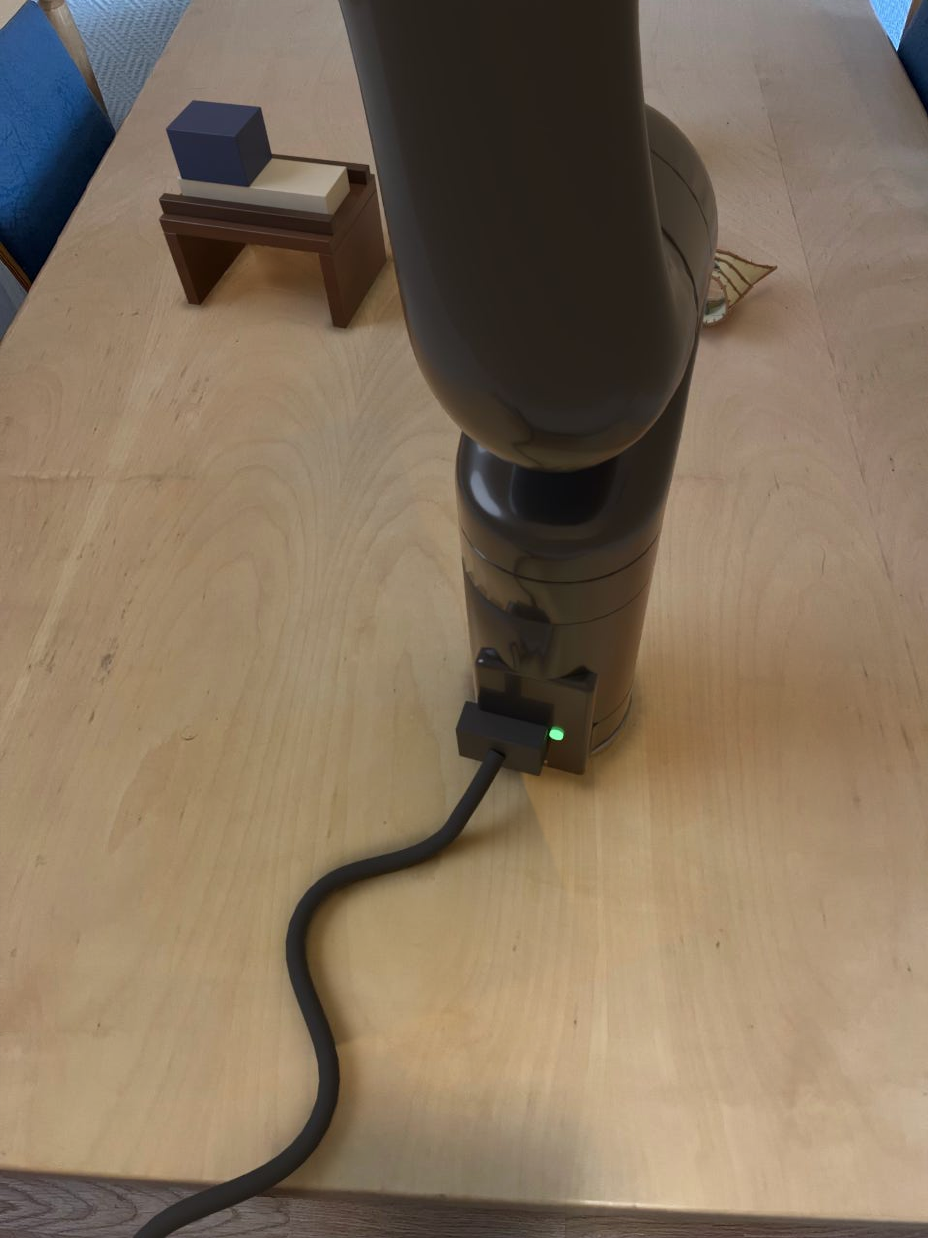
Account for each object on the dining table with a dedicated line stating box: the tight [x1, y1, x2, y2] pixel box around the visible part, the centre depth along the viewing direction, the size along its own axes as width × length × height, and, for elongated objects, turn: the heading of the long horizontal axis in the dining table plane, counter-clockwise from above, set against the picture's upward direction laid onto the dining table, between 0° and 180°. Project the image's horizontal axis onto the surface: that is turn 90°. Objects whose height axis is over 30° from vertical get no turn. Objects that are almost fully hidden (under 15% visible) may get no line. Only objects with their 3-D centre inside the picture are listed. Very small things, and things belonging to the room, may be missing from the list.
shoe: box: [165, 99, 350, 215], centre depth 71 cm, size 13×5×6 cm, turn 73°
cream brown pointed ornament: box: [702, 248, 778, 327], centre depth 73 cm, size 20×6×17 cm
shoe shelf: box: [158, 153, 388, 329], centre depth 77 cm, size 10×15×9 cm, turn 72°
